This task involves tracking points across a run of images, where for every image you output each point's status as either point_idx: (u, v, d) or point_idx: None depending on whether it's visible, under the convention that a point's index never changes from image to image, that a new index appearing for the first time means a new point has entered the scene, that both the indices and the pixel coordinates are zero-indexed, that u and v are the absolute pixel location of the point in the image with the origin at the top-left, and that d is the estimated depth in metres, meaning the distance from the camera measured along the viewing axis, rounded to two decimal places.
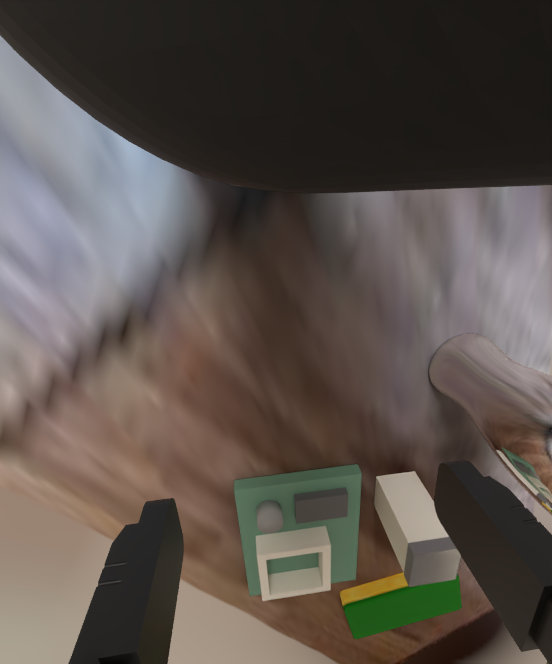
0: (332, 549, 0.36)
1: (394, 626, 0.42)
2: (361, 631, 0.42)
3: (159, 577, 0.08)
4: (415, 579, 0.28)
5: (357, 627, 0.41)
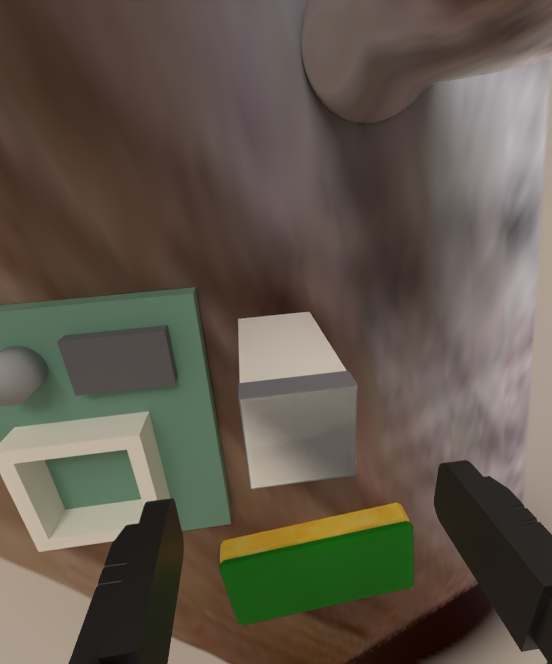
0: (174, 462, 0.20)
1: (305, 607, 0.26)
2: (250, 611, 0.25)
3: (159, 578, 0.08)
4: (260, 469, 0.13)
5: (243, 603, 0.25)
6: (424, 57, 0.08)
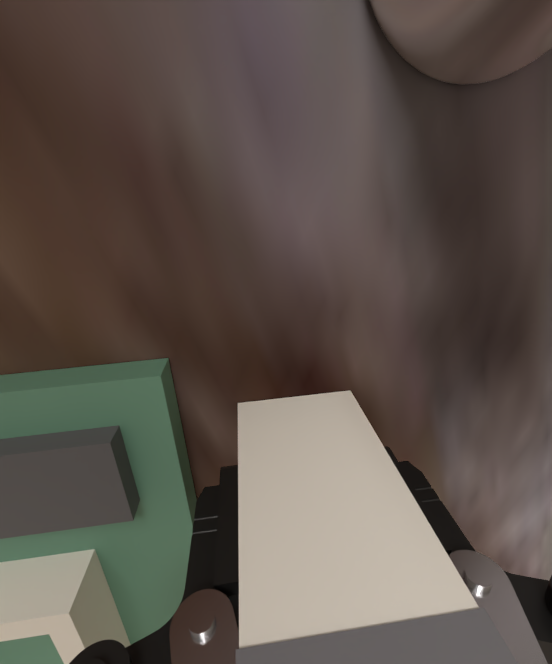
0: (138, 613, 0.13)
1: None
2: None
3: None
4: None
5: None
6: None
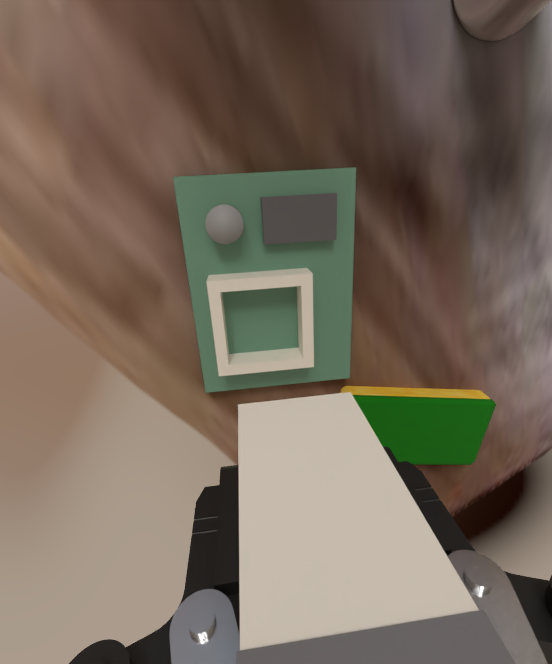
0: (317, 315, 0.26)
1: None
2: None
3: None
4: None
5: None
6: None
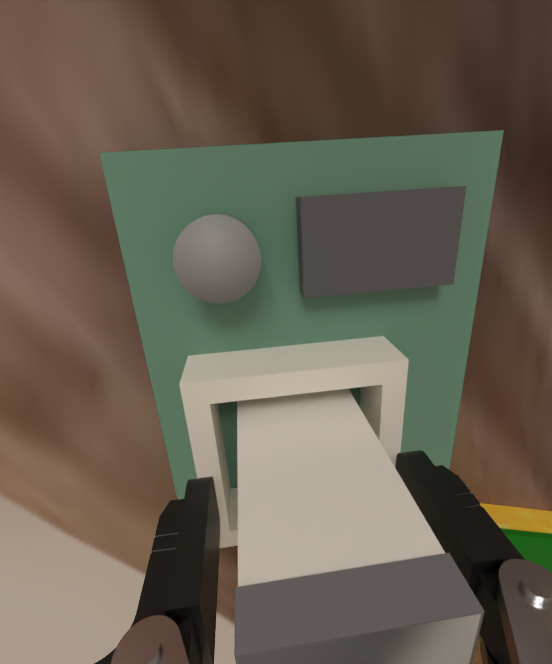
0: None
1: None
2: None
3: (208, 546, 0.08)
4: None
5: None
6: None
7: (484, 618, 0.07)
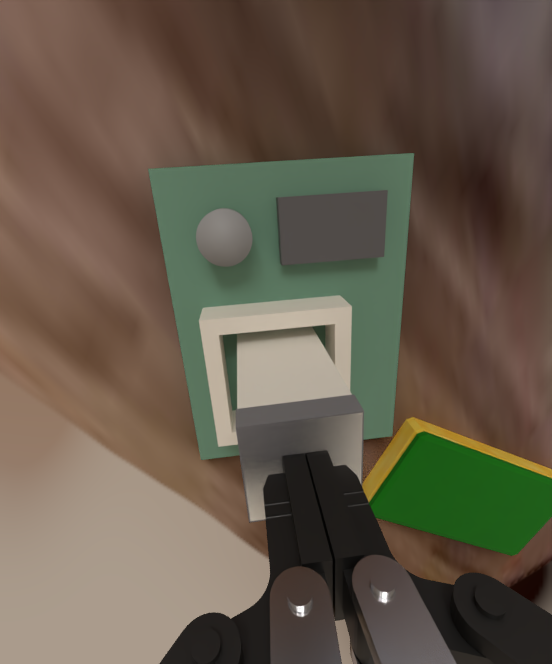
0: (351, 358, 0.19)
1: (432, 526, 0.24)
2: (393, 502, 0.23)
3: None
4: (259, 501, 0.12)
5: (397, 489, 0.22)
6: None
7: (348, 612, 0.08)
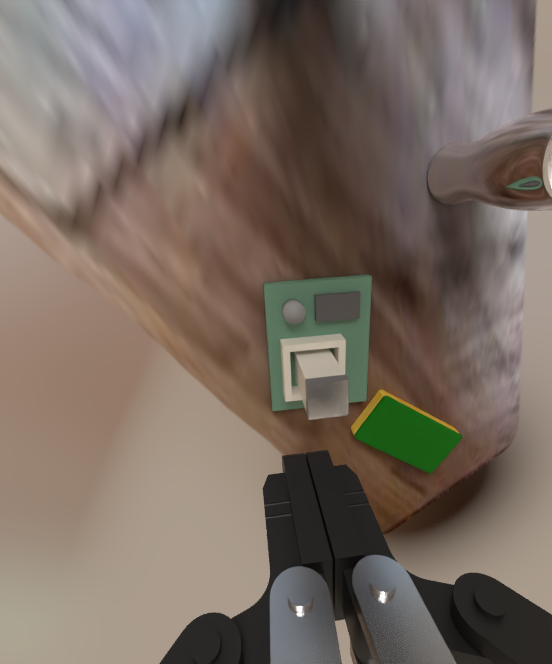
0: (346, 362, 0.41)
1: (387, 449, 0.46)
2: (368, 432, 0.44)
3: None
4: (312, 411, 0.34)
5: (371, 425, 0.44)
6: (488, 203, 0.30)
7: (347, 612, 0.08)
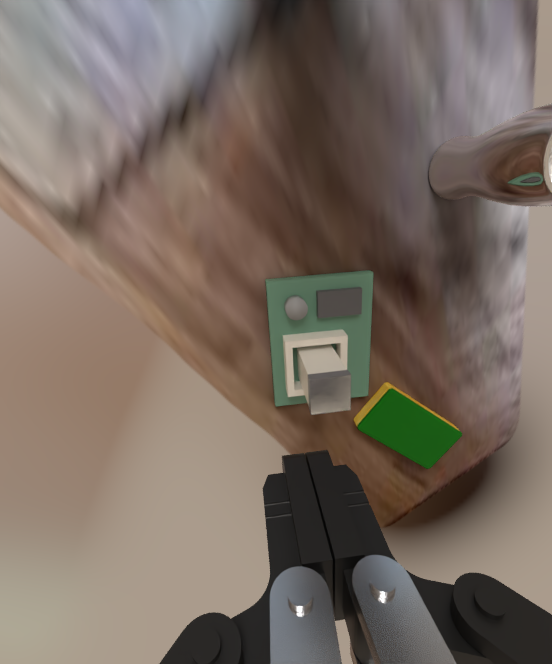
0: (348, 357, 0.42)
1: (388, 442, 0.46)
2: (371, 423, 0.45)
3: None
4: (315, 406, 0.34)
5: (375, 416, 0.44)
6: (490, 199, 0.30)
7: (348, 612, 0.08)
